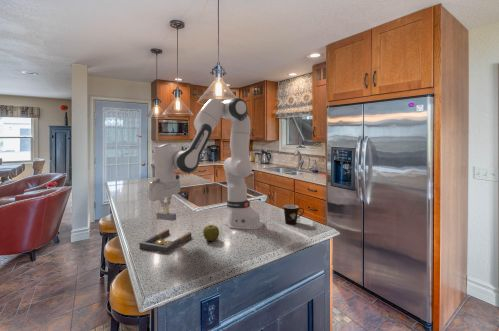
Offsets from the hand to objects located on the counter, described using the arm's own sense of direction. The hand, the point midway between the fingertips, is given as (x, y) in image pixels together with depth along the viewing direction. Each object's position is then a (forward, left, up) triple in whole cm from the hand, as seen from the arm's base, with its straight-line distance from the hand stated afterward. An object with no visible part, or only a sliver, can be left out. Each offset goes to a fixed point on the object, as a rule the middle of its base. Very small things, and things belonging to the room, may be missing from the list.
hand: (165, 205), depth 129 cm
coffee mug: (-54, -46, -17) cm, 73 cm away
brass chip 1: (0, +6, -17) cm, 18 cm away
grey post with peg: (0, 0, -7) cm, 7 cm away
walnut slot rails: (-2, -2, -17) cm, 17 cm away
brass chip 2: (-5, +6, -18) cm, 19 cm away
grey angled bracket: (-2, +7, -17) cm, 19 cm away
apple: (-21, -7, -18) cm, 28 cm away
